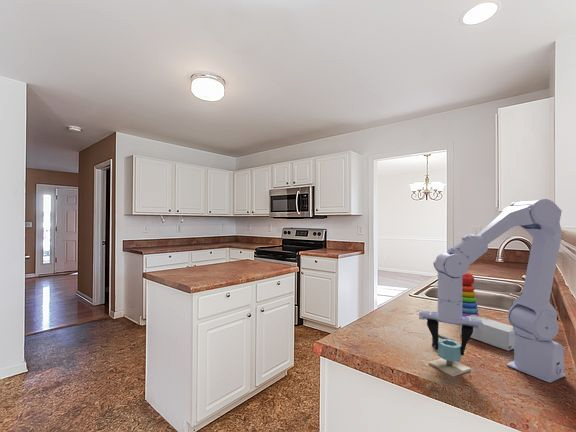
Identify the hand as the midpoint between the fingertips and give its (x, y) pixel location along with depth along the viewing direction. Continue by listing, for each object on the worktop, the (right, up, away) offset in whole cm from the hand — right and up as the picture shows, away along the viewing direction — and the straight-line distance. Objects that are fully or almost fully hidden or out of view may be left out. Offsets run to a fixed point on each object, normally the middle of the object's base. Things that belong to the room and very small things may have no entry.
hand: (449, 351), depth 78 cm
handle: (+3, -4, +9) cm, 10 cm away
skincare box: (+19, -2, +24) cm, 31 cm away
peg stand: (0, -4, 0) cm, 4 cm away
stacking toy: (+26, -5, +36) cm, 44 cm away
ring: (0, -1, 0) cm, 1 cm away
